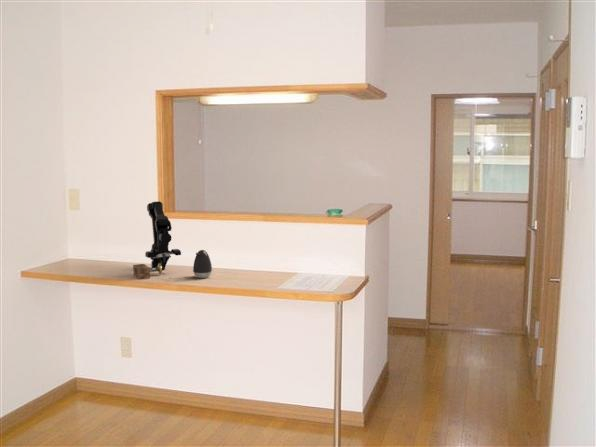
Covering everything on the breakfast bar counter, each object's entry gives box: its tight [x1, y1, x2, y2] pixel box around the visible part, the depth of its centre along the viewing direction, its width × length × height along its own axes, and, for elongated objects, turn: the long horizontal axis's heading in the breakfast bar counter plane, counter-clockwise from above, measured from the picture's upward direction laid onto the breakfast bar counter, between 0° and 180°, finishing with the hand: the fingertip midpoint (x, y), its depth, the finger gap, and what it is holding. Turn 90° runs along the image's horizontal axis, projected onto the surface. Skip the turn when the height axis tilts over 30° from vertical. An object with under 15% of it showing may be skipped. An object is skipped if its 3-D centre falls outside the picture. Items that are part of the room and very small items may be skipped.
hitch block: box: [132, 263, 151, 280], centre depth 335 cm, size 6×12×6 cm, turn 28°
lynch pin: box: [150, 263, 163, 275], centre depth 338 cm, size 10×5×6 cm, turn 118°
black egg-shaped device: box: [192, 249, 213, 279], centre depth 333 cm, size 10×10×15 cm
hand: (163, 268), depth 341 cm, fingers closed
